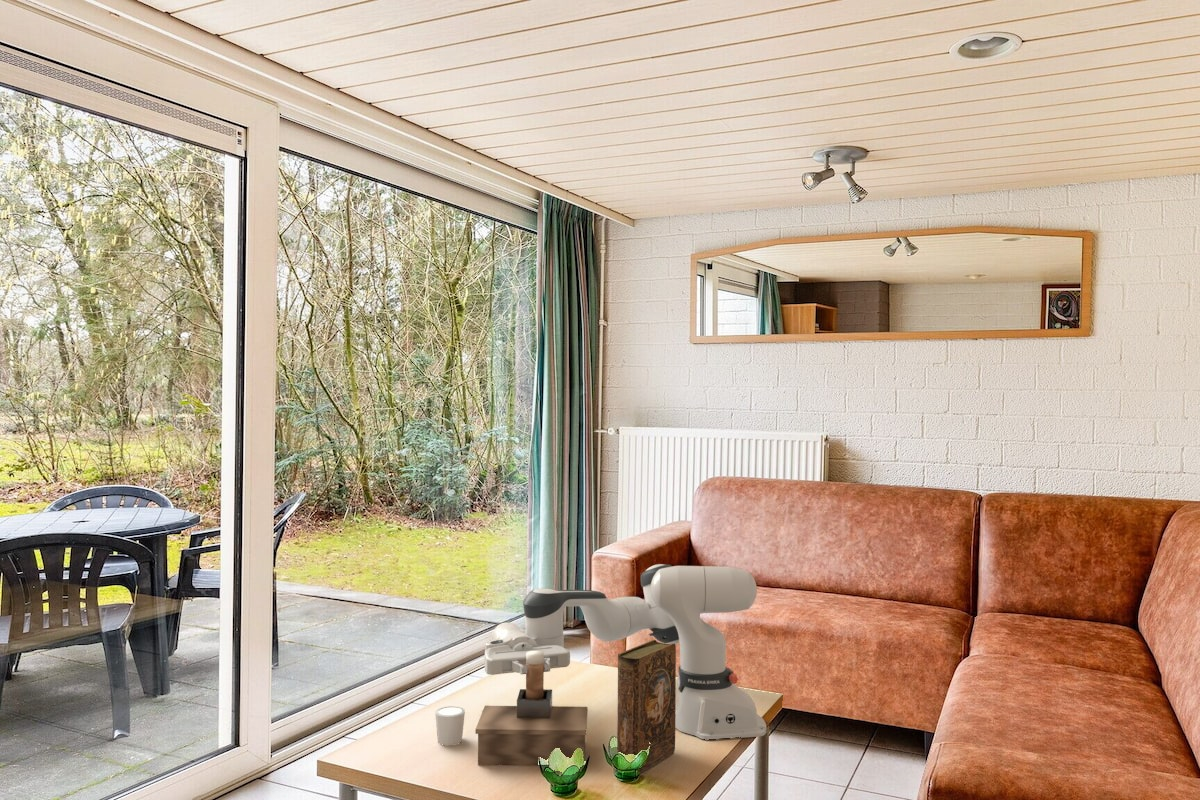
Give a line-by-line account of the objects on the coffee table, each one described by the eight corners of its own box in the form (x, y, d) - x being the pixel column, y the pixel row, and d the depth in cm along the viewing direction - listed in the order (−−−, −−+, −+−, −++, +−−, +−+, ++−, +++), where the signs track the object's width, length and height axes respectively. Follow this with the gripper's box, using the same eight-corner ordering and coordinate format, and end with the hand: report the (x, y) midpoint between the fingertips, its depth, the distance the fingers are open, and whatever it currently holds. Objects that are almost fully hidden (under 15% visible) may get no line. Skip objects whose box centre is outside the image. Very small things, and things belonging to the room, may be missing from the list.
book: (635, 779, 182) (636, 660, 182) (613, 772, 185) (614, 655, 185) (675, 753, 195) (676, 642, 195) (654, 747, 199) (655, 638, 199)
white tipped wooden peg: (543, 707, 200) (544, 650, 200) (542, 713, 196) (543, 655, 196) (526, 706, 200) (527, 650, 200) (525, 713, 196) (525, 655, 196)
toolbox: (587, 740, 202) (587, 689, 202) (585, 767, 188) (586, 711, 188) (484, 739, 202) (484, 688, 202) (475, 766, 188) (475, 710, 188)
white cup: (431, 737, 203) (432, 707, 203) (460, 733, 206) (460, 704, 206) (438, 748, 197) (438, 717, 197) (467, 744, 200) (468, 713, 200)
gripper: (560, 661, 214) (578, 678, 201) (478, 670, 207) (492, 688, 194) (560, 636, 214) (579, 651, 201) (479, 643, 207) (492, 660, 194)
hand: (536, 669), depth 197 cm, fingers closed on white tipped wooden peg, 4 cm apart
